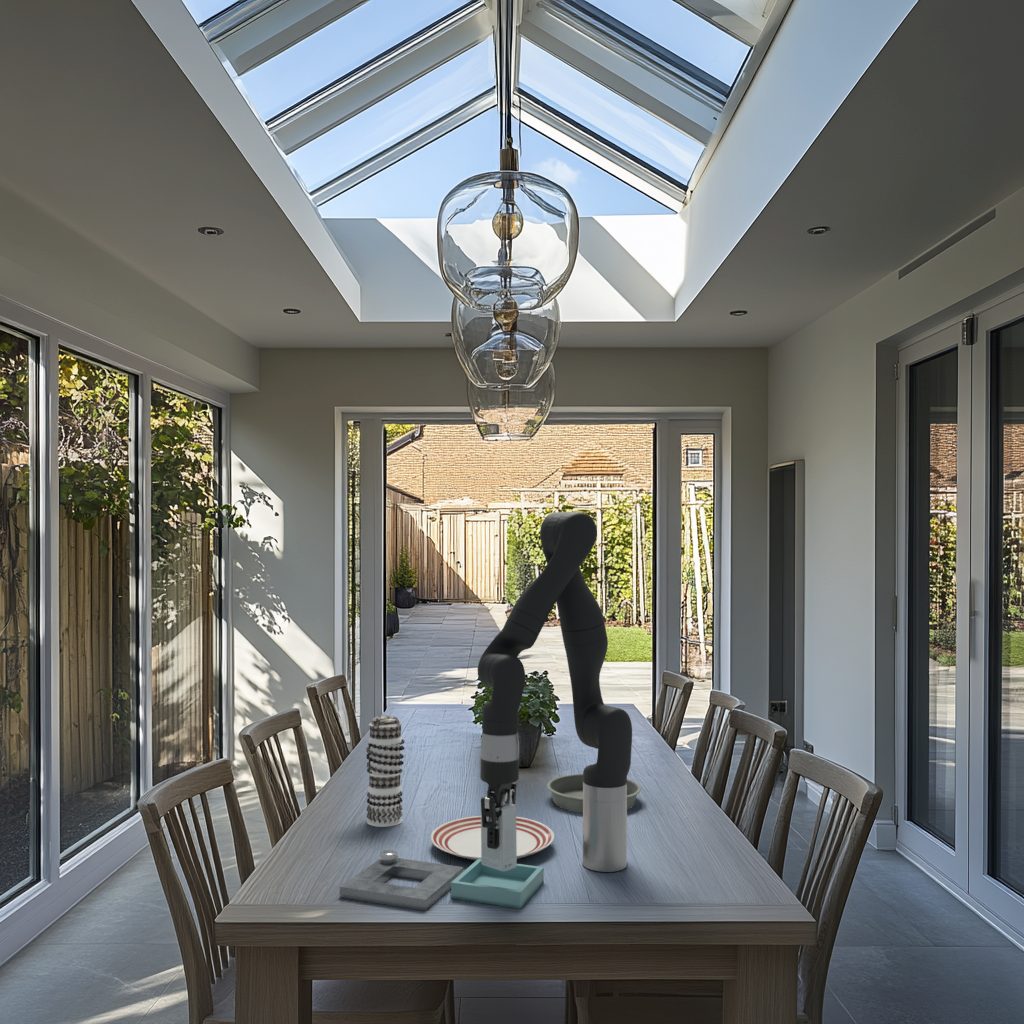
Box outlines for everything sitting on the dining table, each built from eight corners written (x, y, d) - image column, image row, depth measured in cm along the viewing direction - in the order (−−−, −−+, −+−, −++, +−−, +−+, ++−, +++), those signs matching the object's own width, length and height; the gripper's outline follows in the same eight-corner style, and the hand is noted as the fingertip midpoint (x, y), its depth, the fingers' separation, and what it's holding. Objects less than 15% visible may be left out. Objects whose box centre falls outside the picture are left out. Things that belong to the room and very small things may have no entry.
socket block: (383, 865, 190) (384, 848, 190) (463, 877, 184) (463, 859, 184) (339, 897, 173) (339, 878, 173) (425, 910, 167) (425, 890, 167)
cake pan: (536, 811, 230) (536, 793, 231) (559, 786, 254) (559, 770, 254) (632, 820, 223) (632, 802, 223) (647, 794, 247) (647, 777, 247)
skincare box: (517, 867, 177) (518, 804, 177) (502, 873, 173) (503, 808, 174) (494, 859, 181) (495, 798, 181) (478, 865, 178) (480, 802, 178)
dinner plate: (543, 875, 186) (543, 858, 186) (414, 864, 192) (414, 848, 192) (562, 833, 213) (562, 819, 213) (449, 825, 218) (449, 811, 219)
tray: (478, 873, 186) (478, 858, 186) (543, 882, 181) (543, 867, 182) (450, 898, 173) (451, 882, 173) (520, 908, 168) (520, 892, 168)
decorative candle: (408, 825, 218) (409, 719, 218) (369, 829, 214) (371, 722, 215) (398, 814, 226) (399, 712, 227) (361, 818, 223) (362, 715, 224)
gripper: (505, 765, 170) (504, 857, 169) (529, 749, 184) (528, 834, 183) (468, 762, 173) (466, 852, 172) (494, 746, 186) (493, 830, 185)
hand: (498, 842), depth 177 cm, fingers closed on skincare box, 5 cm apart
